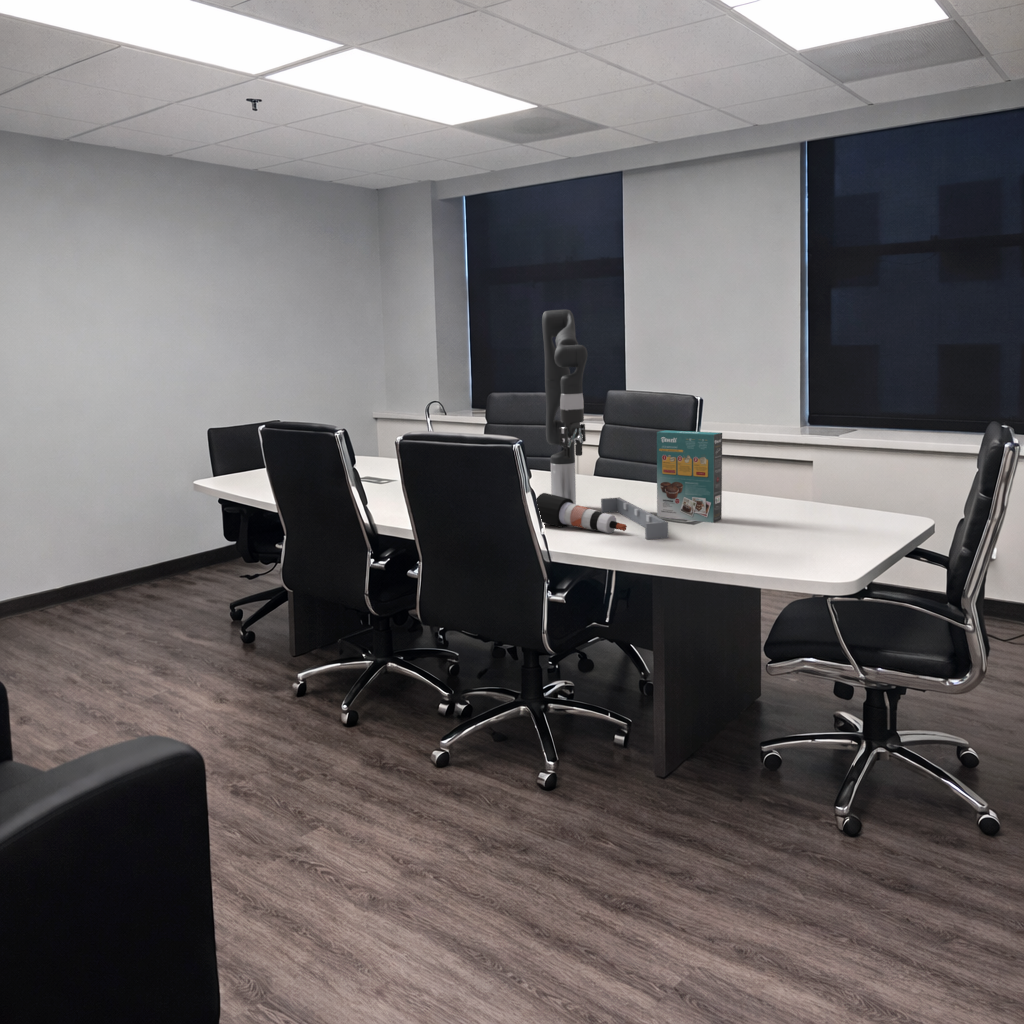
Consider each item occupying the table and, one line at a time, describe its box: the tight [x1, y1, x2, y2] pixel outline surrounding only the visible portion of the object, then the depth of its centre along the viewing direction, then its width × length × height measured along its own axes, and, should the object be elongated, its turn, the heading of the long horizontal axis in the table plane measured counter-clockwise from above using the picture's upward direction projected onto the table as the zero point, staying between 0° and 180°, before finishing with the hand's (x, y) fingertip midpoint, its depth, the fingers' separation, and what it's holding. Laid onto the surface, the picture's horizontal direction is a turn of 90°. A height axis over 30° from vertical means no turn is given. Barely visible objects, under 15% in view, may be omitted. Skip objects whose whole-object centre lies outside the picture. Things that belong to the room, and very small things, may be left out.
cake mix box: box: [656, 430, 723, 523], centre depth 319 cm, size 22×6×30 cm, turn 51°
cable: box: [535, 492, 628, 534], centre depth 309 cm, size 10×34×10 cm, turn 50°
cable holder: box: [600, 497, 669, 540], centre depth 315 cm, size 50×7×5 cm, turn 11°
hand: (573, 457), depth 302 cm, fingers open, 8 cm apart
